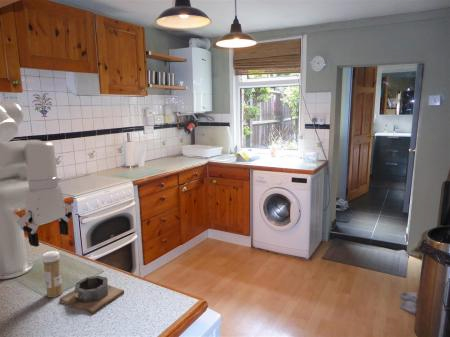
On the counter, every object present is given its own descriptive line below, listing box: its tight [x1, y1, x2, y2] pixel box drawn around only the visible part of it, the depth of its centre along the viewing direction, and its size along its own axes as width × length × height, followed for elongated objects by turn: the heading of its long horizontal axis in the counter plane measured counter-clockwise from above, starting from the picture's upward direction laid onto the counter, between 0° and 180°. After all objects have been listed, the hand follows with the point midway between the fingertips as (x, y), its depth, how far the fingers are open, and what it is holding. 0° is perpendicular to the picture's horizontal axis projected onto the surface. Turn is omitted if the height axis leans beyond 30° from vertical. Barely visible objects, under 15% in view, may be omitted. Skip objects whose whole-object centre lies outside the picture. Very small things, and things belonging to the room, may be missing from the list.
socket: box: [74, 275, 109, 303], centre depth 100 cm, size 9×11×4 cm
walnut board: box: [59, 284, 125, 315], centre depth 101 cm, size 14×12×1 cm
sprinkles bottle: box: [41, 250, 64, 298], centre depth 101 cm, size 5×5×13 cm
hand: (50, 239), depth 99 cm, fingers open, 9 cm apart
